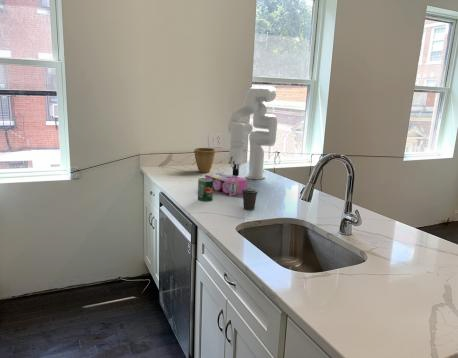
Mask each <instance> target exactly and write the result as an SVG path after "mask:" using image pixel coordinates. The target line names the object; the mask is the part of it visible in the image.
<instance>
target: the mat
mask: <svg viewBox="0 0 458 358" xmlns="http://www.w3.org/2000/svg"><path fill="white" fill-rule="evenodd" d="M213 194H220V195H223V196H227V195H226V194H223V193H220V192H218V191H215V190H213ZM230 197H235V198H240V199H243V193H242V194H237V195H231V196H230Z"/></svg>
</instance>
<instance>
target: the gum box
mask: <svg viewBox="0 0 458 358" xmlns="http://www.w3.org/2000/svg"><path fill="white" fill-rule="evenodd" d="M204 178H211V179H213V190H215V191H218V192H220V193H223V194H222V195H224V194H226V195H225V196H228V197H232V196H231V195H237V194H242V193H243V192H242V190H243V189H247V188H249V187H248V185H249V184H248V183H249V182H248V181H249V180H248V178H243V177H241V176H233V174H230V173H228V172H224V171H223V172H217V173H212V174H211V173H209V174H205V177H204Z"/></svg>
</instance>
